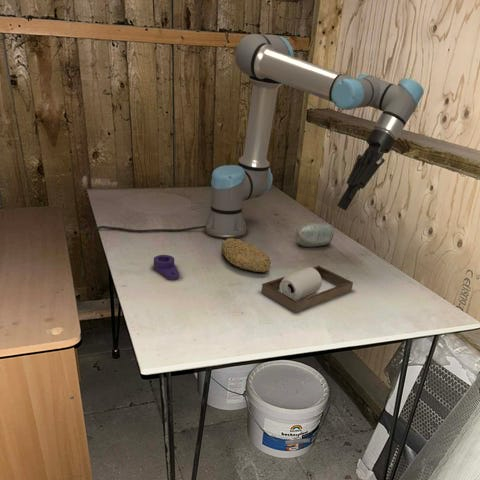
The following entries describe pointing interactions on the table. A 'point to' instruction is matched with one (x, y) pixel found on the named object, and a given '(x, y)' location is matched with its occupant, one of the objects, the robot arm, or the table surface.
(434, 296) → the table surface
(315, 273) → the can
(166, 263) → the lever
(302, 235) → the streaked grey-green pebble
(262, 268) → the sponge
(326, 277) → the walnut frame
